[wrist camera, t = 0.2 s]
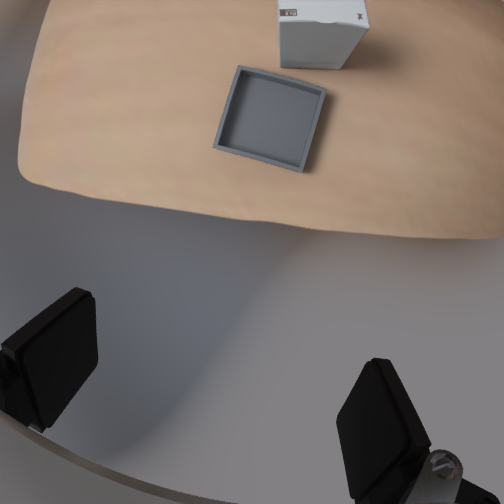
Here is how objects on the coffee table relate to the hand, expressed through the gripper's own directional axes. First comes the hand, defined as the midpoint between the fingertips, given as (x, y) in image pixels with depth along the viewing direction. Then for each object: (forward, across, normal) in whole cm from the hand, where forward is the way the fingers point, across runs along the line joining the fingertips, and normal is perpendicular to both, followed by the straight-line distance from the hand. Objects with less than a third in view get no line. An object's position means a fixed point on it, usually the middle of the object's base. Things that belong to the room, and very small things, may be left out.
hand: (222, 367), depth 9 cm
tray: (+31, +1, -12) cm, 33 cm away
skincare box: (+31, -1, -23) cm, 39 cm away
